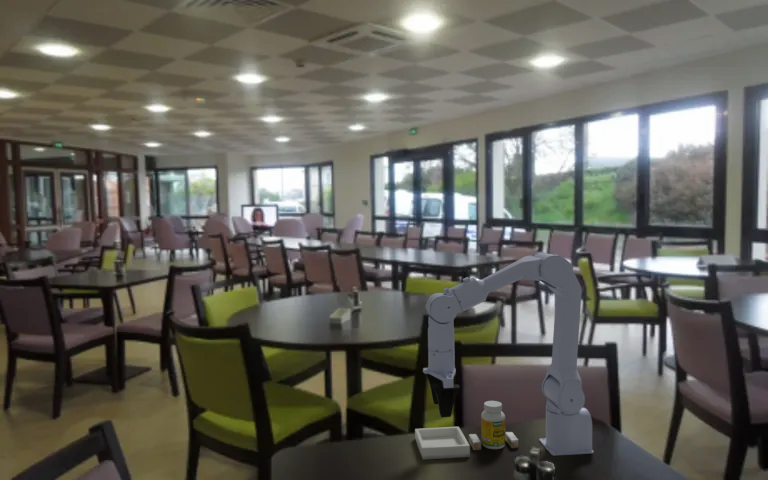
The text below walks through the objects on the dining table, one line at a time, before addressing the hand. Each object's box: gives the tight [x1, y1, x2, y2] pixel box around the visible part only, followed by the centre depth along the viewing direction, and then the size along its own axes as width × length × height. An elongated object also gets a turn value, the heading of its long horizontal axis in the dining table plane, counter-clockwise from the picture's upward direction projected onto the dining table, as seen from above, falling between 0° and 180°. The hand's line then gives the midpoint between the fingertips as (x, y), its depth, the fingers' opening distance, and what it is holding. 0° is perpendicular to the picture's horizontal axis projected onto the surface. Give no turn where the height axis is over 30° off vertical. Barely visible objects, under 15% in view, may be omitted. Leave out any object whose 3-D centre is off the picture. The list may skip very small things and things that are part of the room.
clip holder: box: [468, 431, 519, 451], centre depth 124 cm, size 10×4×2 cm, turn 95°
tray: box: [414, 426, 471, 460], centre depth 122 cm, size 10×10×2 cm
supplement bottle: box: [480, 400, 506, 450], centre depth 123 cm, size 5×5×10 cm
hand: (442, 409), depth 119 cm, fingers open, 7 cm apart
